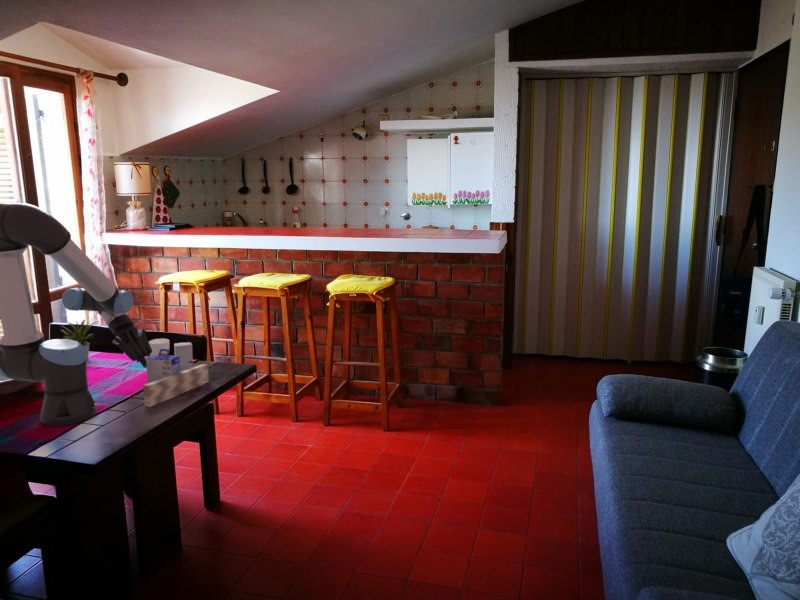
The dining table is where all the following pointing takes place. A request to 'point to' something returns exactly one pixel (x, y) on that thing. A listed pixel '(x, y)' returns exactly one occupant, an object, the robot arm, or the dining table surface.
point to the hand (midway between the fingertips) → (154, 373)
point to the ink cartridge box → (162, 366)
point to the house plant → (79, 335)
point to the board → (175, 384)
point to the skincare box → (184, 355)
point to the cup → (158, 346)
